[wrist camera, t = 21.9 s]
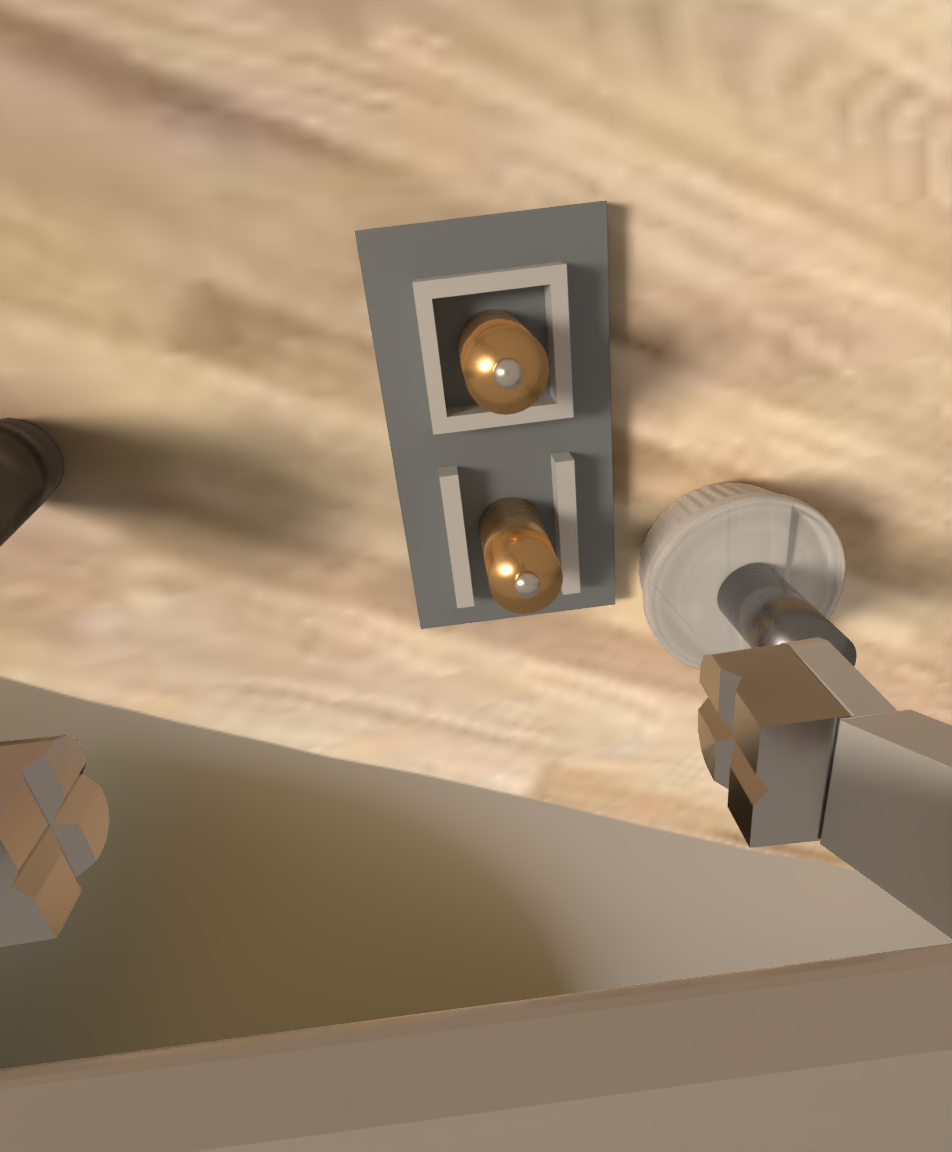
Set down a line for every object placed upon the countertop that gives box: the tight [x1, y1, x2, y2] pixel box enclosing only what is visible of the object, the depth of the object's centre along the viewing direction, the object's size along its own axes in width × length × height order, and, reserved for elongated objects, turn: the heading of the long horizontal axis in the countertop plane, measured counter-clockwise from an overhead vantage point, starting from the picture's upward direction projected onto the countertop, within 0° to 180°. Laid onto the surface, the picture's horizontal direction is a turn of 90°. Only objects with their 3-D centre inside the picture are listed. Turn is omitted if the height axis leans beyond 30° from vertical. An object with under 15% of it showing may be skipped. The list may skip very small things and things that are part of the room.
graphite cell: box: [717, 563, 856, 666], centre depth 36 cm, size 4×4×8 cm
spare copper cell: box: [479, 497, 563, 614], centre depth 37 cm, size 4×4×8 cm
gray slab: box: [355, 201, 615, 629], centre depth 38 cm, size 22×12×3 cm, turn 6°
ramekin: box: [639, 482, 846, 670], centre depth 41 cm, size 11×11×5 cm
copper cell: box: [457, 309, 549, 415], centre depth 33 cm, size 4×4×8 cm
